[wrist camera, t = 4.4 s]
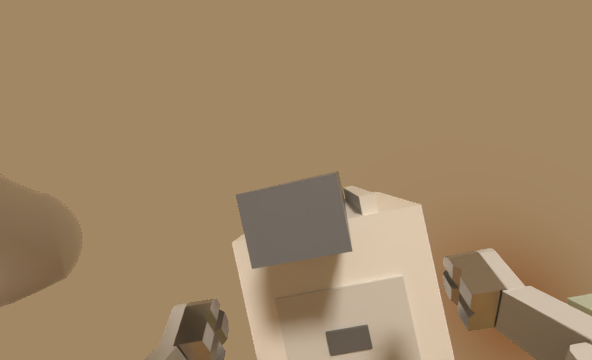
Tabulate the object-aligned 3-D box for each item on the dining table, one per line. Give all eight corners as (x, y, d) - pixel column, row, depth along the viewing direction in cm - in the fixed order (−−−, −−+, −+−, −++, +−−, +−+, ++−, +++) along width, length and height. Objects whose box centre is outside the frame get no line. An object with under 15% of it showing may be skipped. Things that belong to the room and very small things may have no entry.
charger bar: (352, 251, 11) (335, 173, 11) (251, 269, 12) (235, 194, 12) (344, 200, 31) (338, 171, 31) (306, 207, 32) (300, 179, 32)
